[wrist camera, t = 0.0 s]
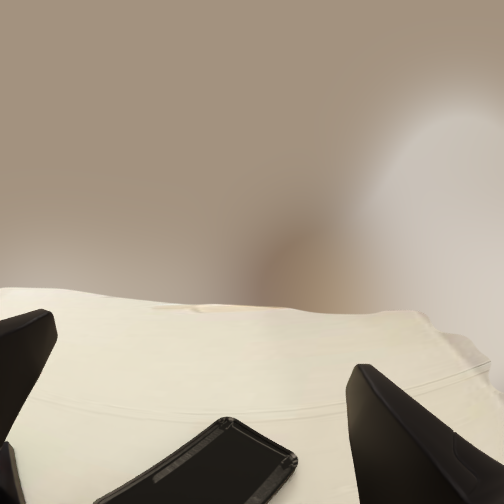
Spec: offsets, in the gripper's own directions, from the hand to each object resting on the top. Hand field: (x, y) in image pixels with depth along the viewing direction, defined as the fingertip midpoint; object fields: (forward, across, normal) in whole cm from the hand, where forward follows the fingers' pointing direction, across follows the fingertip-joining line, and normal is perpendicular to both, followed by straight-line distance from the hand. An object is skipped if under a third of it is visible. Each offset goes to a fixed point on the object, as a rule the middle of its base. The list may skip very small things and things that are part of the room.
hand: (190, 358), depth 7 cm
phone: (+3, 0, +17) cm, 17 cm away
